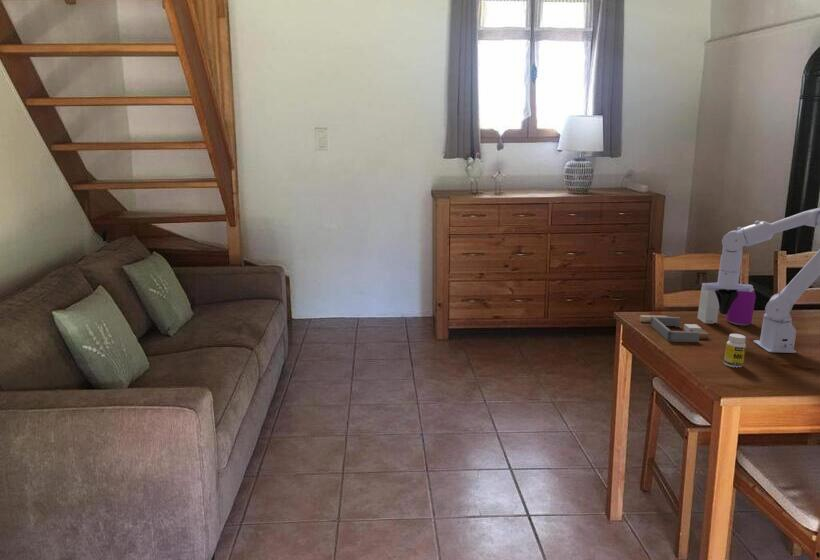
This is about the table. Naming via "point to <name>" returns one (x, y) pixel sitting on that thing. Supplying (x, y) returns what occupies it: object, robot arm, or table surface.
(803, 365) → the table surface
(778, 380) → the table surface
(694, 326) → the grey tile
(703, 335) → the walnut tile
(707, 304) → the skincare box
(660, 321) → the box
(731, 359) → the supplement bottle
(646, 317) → the scraper
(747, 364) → the table surface
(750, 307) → the beverage can
